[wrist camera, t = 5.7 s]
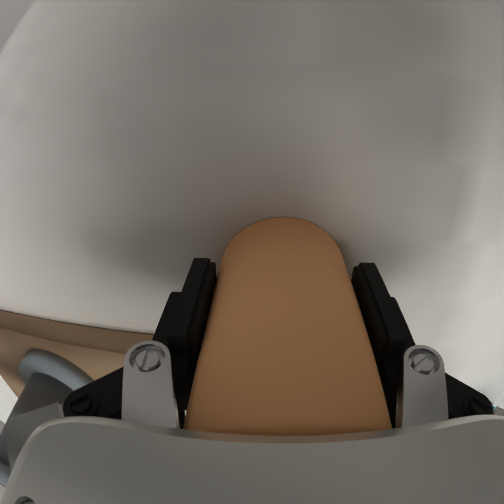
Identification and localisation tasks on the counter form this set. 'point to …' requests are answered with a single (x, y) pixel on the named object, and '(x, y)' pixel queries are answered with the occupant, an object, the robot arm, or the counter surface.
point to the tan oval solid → (285, 341)
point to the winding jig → (54, 362)
